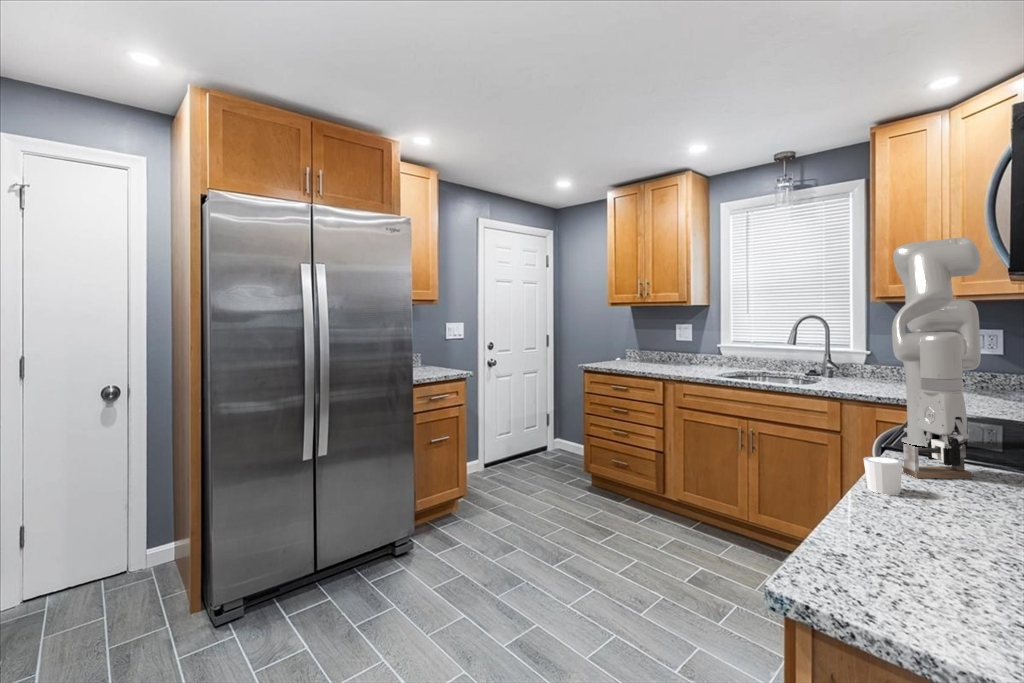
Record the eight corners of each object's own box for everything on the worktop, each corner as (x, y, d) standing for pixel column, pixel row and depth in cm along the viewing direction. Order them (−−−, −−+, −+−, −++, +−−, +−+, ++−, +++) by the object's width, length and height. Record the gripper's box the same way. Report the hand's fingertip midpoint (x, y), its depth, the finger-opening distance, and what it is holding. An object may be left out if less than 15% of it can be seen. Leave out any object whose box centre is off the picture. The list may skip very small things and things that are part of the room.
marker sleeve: (931, 457, 120) (931, 439, 120) (942, 457, 119) (942, 439, 119) (945, 462, 115) (944, 443, 115) (956, 461, 115) (955, 443, 115)
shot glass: (871, 495, 106) (870, 463, 106) (859, 486, 113) (858, 455, 112) (909, 497, 104) (908, 464, 104) (895, 487, 110) (894, 456, 110)
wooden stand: (903, 472, 121) (901, 442, 121) (955, 472, 119) (954, 441, 119) (916, 478, 116) (915, 446, 116) (971, 478, 114) (970, 446, 114)
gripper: (901, 382, 126) (903, 453, 126) (950, 390, 109) (953, 472, 110) (933, 381, 125) (935, 453, 125) (988, 389, 108) (990, 472, 109)
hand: (943, 461), depth 117 cm, fingers closed on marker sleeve, 4 cm apart
